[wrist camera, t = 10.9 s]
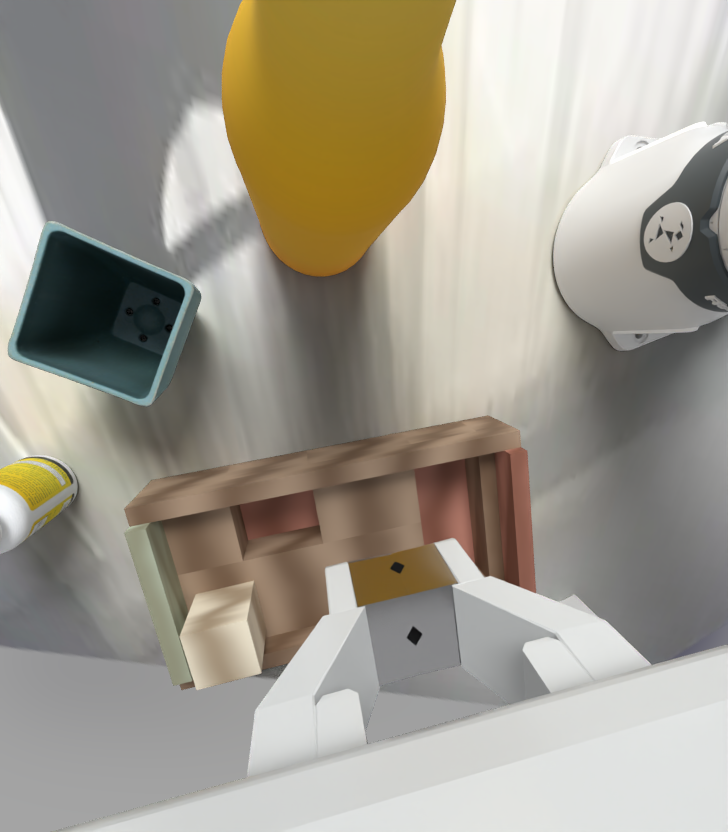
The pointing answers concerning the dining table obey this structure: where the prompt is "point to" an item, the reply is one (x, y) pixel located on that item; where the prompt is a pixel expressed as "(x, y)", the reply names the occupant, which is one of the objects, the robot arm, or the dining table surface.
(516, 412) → the dining table surface
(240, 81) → the beer bottle
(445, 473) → the tray
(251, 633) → the ash block
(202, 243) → the dining table surface
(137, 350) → the flower pot
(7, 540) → the supplement bottle
